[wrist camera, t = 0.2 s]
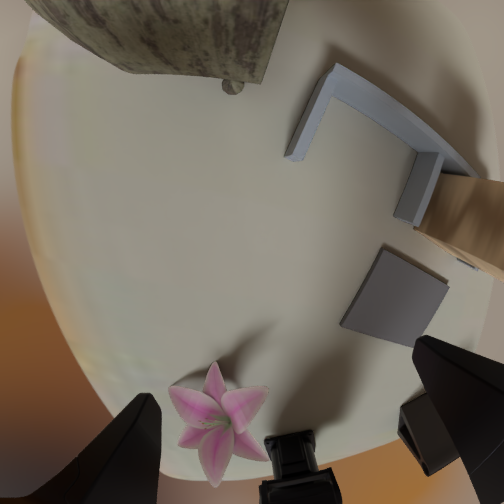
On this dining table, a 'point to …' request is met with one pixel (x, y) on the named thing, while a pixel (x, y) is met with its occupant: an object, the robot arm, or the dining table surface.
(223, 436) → the lily
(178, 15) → the tabletop clock
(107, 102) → the dining table surface
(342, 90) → the shelf
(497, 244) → the oak block
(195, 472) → the dining table surface
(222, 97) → the dining table surface
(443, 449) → the phone stand
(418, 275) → the rubber mat
